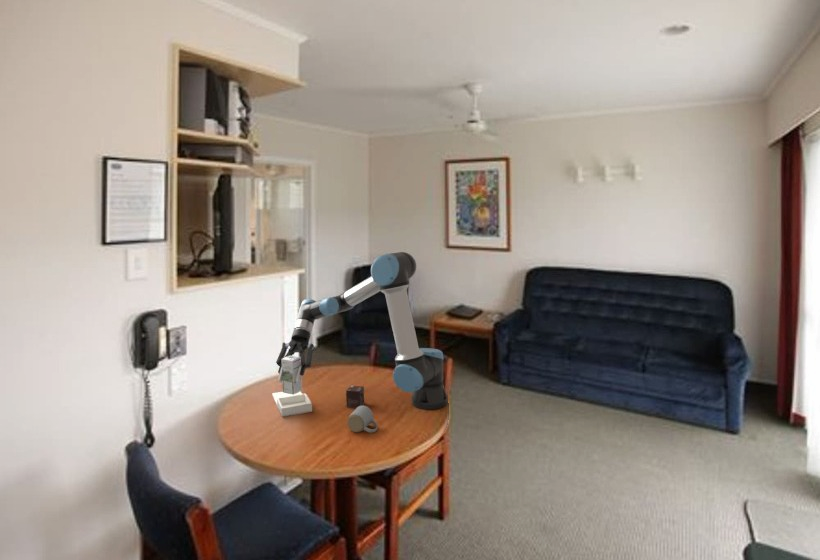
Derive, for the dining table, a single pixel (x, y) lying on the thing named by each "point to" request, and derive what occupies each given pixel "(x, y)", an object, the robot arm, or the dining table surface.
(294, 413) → the mailer
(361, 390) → the box
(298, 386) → the syrup box
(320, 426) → the dining table surface
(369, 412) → the ceramic mug
